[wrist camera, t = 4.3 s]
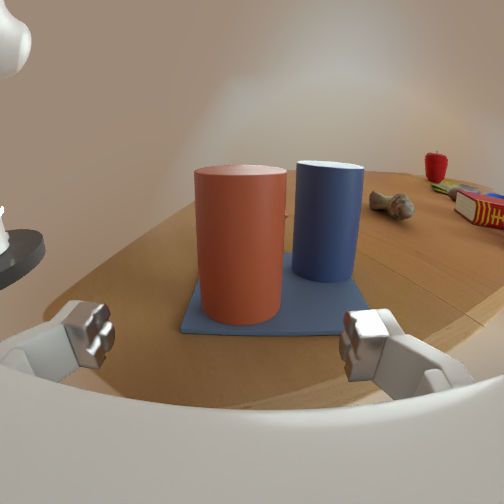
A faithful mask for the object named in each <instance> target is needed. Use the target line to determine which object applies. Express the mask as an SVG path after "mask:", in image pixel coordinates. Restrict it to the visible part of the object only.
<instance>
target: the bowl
mask: <svg viewBox="0 0 504 504" xmlns="http://www.w3.org/2000/svg"><path fill="white" fill-rule="evenodd" d="M486 196H490V197H495V198H499V199H504V196H502V195H498V194H494V193H486Z"/></svg>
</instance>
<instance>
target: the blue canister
mask: <svg viewBox="0 0 504 504" xmlns="http://www.w3.org/2000/svg"><path fill="white" fill-rule="evenodd" d="M363 179H364V167H362V166H358V165H353V164H347V163H339V162H329V161H299V162H297V168H296V193H295V215H294V233H293V250H292V270H293V272H294V273H295V274H297V275H298V276H300V277H302V278H304V279H307V280H310V281H315V282H322V283H335V282H341V281H344V280H346V279H348V278H350V277H351V275H352V273H353V267H354V260H355V253H356V246H357V238H358V230H359V221H360V212H361V202H362V191H363Z"/></svg>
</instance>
